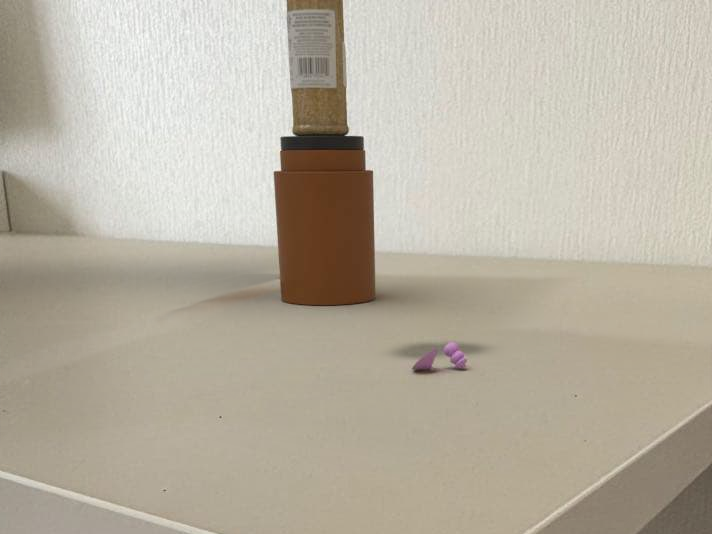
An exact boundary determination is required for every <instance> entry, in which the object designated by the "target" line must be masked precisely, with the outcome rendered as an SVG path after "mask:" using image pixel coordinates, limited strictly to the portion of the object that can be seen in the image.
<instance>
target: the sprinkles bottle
mask: <svg viewBox="0 0 712 534" xmlns="http://www.w3.org/2000/svg"><path fill="white" fill-rule="evenodd" d="M344 21H345V20H344V0H286V31H287V47H288V50H287V51H288V63H289V64H288V66H289V67H288V68H289V83H290V84H289V85H290V92H291V104H292V105H291V107H292V127H291V132H292V135H293V136H348V134H349V132H350V127H349V126H348V125H349V124H348V109H347V108H348V107H347V103H348V102H347V86H348V81H347V52H346V44H345V22H344Z"/></svg>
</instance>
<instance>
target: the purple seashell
mask: <svg viewBox="0 0 712 534" xmlns="http://www.w3.org/2000/svg"><path fill="white" fill-rule="evenodd" d="M438 351H439V349H438V348H435V349H433V350H431V351H429V352H428V353H427V354H425V355H424V356H422V357H421V358H420V359H419V360H418V361H416V362H415V363H414V365H412V368H411V370H422V369H423V370H424V369H430V371H431V372H434V371H435V367H433V364H434V362H435V359H436V356H437V354H438ZM443 353H444V355H445V356H446V357H448V358H450V359H449V360H450V363H451V364H453V365H454V367H455V369H462V370H464V369H466V367H467V365H466V363H467V362H468V358H467V357H465V353H464V352H463V351H461V350H460V349H459V345H458V344H457V343H456V342H451V341H450V342H448V343H447V344H446V345H445V346H444V348H443Z"/></svg>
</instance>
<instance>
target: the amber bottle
mask: <svg viewBox="0 0 712 534" xmlns="http://www.w3.org/2000/svg"><path fill="white" fill-rule="evenodd" d="M279 161H280V170H274V171H273V185H274V186H273V187H274V201H275V219H276V220H275V221H276V235H277V251H278V269H279V283H280V285H279V287H280V298H281V301H283V302H284V303H289V304H293V305H301V306H345V305H355V304H363V303H367V302H370V301H373V300H375V299H376V253H375V252H376V247H375V197H374V195H375V193H374V170H371V169H367V168H366V166H367V165H366V164H367V163H366V161H367V160H366V150H365V138H364V136H362V135H345V136H295V135H291V136H290V135H286V136H280V150H279Z"/></svg>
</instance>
